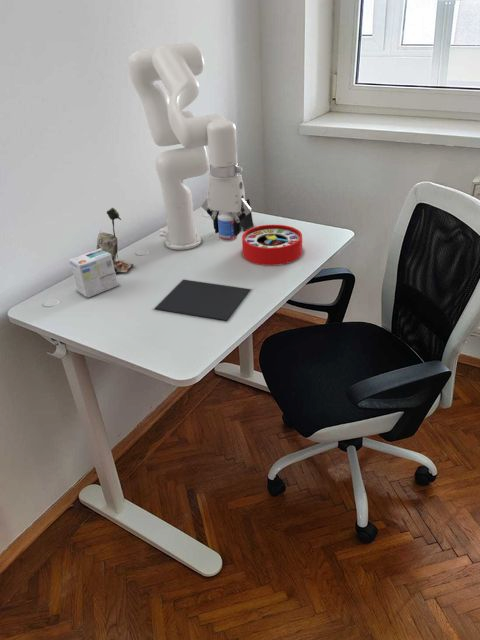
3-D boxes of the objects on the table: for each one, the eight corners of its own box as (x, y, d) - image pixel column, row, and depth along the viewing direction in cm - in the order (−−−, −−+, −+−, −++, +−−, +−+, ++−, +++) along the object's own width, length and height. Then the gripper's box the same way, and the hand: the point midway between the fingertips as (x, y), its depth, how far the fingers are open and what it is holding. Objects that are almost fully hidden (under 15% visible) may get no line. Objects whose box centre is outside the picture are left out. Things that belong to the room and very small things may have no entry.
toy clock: (256, 221, 183) (310, 228, 176) (257, 237, 187) (310, 244, 180) (231, 243, 168) (289, 252, 162) (232, 260, 172) (289, 269, 165)
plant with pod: (108, 262, 174) (94, 203, 162) (137, 266, 170) (126, 206, 159) (93, 272, 167) (79, 212, 156) (123, 277, 164) (111, 216, 153)
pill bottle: (235, 242, 151) (233, 210, 145) (217, 241, 151) (214, 209, 146) (239, 235, 155) (237, 203, 149) (221, 234, 156) (219, 202, 150)
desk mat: (154, 309, 147) (154, 308, 147) (183, 280, 161) (183, 279, 161) (226, 321, 141) (226, 319, 141) (249, 290, 154) (249, 289, 154)
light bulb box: (107, 279, 163) (100, 247, 157) (119, 286, 159) (112, 253, 153) (76, 291, 157) (67, 258, 151) (87, 298, 153) (79, 265, 147)
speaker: (257, 227, 194) (253, 199, 188) (243, 231, 191) (239, 203, 186) (247, 222, 199) (243, 195, 194) (234, 226, 197) (230, 199, 192)
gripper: (258, 168, 142) (259, 230, 153) (200, 163, 147) (206, 224, 157) (248, 177, 136) (251, 241, 147) (189, 171, 141) (195, 234, 152)
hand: (227, 232), depth 152 cm, fingers closed on pill bottle, 5 cm apart
